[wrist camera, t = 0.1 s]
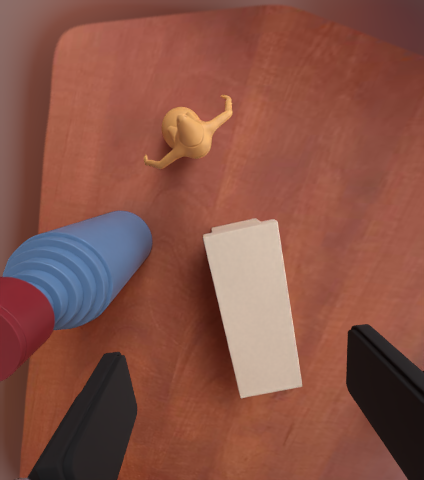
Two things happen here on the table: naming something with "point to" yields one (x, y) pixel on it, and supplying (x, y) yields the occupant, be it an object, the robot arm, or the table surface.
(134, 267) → the bottle
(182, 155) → the figurine
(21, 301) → the cap
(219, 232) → the cream lidded box
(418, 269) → the table surface
